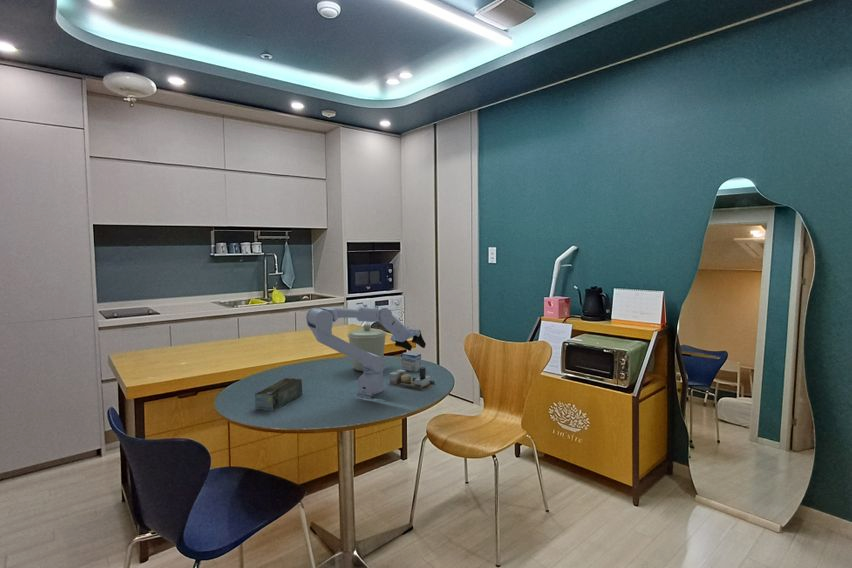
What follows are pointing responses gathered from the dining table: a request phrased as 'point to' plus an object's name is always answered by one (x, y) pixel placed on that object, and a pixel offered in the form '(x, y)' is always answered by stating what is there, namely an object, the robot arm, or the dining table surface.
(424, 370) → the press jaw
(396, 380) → the base
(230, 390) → the dining table surface
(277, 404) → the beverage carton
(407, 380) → the potato
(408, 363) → the medicine box
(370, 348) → the canister
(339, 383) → the dining table surface
